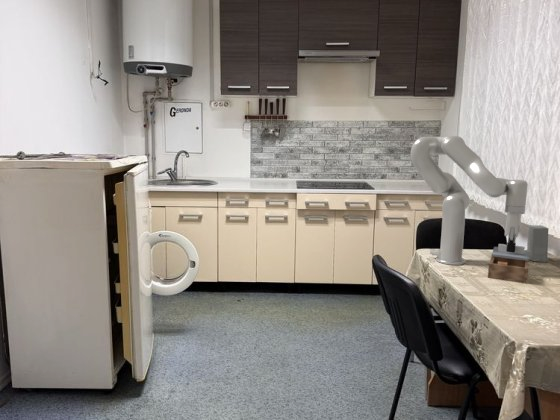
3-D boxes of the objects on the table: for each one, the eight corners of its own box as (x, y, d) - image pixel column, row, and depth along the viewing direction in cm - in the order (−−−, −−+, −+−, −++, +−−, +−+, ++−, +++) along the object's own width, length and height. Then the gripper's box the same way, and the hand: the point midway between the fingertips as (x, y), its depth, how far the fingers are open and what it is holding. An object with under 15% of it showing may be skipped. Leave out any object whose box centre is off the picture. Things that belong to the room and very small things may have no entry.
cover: (491, 256, 192) (492, 247, 191) (494, 248, 204) (494, 240, 203) (528, 260, 185) (529, 251, 184) (529, 253, 197) (530, 244, 196)
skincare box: (547, 262, 205) (551, 228, 203) (530, 261, 207) (533, 227, 204) (540, 257, 213) (544, 224, 211) (524, 256, 215) (527, 224, 212)
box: (487, 277, 183) (489, 263, 182) (490, 268, 195) (491, 255, 194) (526, 283, 176) (528, 268, 175) (527, 274, 188) (528, 260, 187)
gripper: (506, 206, 197) (502, 246, 200) (503, 211, 184) (499, 254, 187) (525, 207, 193) (521, 249, 196) (524, 213, 180) (519, 257, 184)
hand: (510, 251), depth 192 cm, fingers closed
